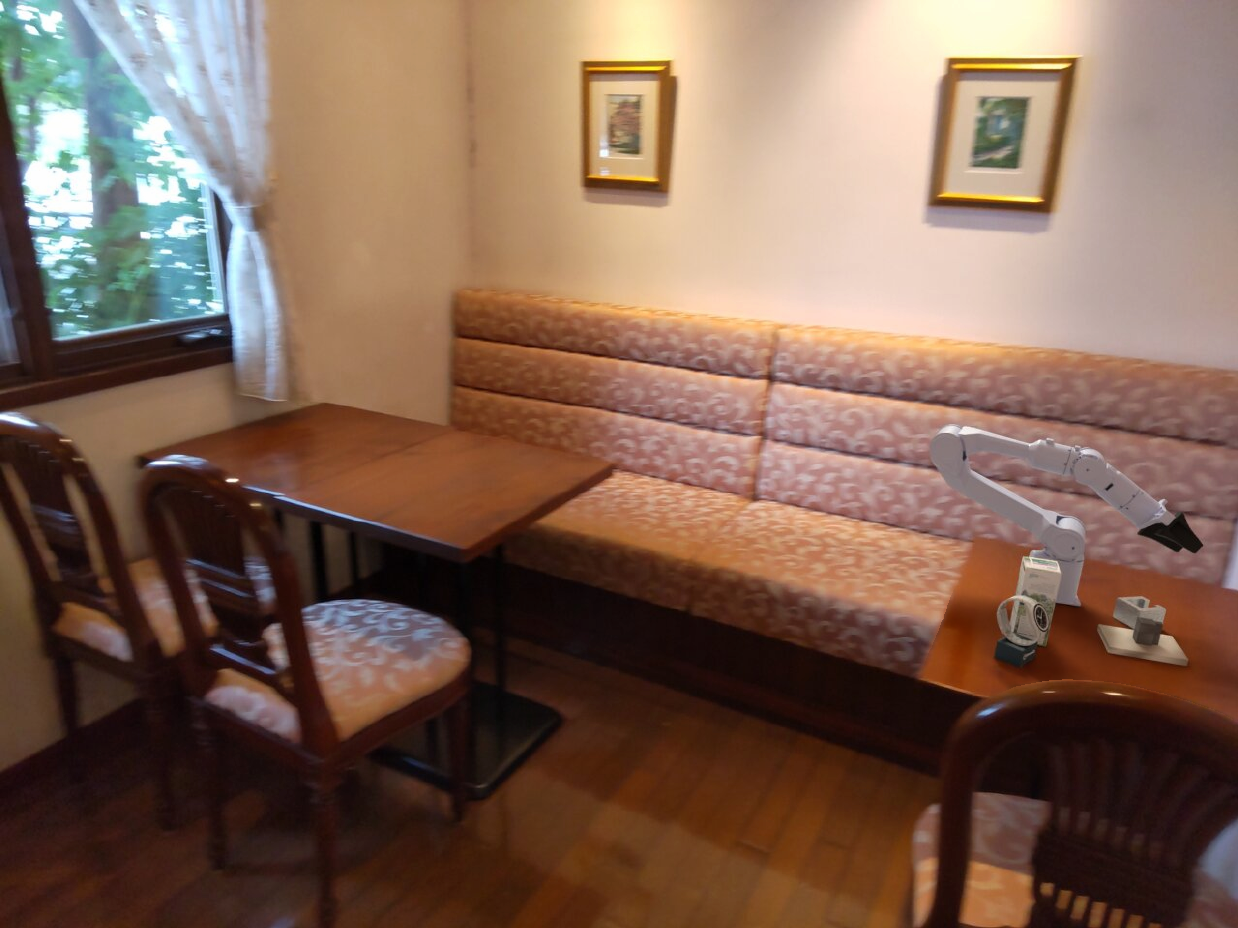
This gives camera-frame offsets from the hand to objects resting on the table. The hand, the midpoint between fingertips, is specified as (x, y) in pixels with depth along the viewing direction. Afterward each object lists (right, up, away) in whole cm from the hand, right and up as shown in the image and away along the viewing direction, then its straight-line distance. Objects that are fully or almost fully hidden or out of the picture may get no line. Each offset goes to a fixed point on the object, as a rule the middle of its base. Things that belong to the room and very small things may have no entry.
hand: (1190, 548), depth 157 cm
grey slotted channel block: (-8, -14, +3) cm, 17 cm away
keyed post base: (-13, -17, -6) cm, 22 cm away
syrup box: (-32, -16, -5) cm, 36 cm away
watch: (-38, -18, -12) cm, 43 cm away
